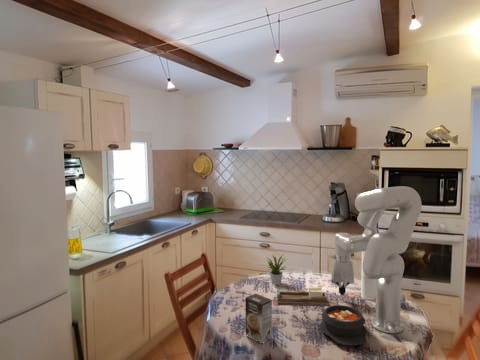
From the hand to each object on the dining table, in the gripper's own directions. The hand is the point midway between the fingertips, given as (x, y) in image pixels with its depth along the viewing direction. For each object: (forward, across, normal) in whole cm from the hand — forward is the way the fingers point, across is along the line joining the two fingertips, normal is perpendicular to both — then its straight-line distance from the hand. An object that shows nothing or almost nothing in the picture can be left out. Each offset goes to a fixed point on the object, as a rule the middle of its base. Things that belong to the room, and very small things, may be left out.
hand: (342, 294), depth 172 cm
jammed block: (+2, -13, 0) cm, 13 cm away
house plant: (+4, -31, +21) cm, 37 cm away
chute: (+3, -20, 0) cm, 20 cm away
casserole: (+3, -6, -30) cm, 31 cm away
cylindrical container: (+3, +14, +5) cm, 15 cm away
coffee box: (+3, -40, -36) cm, 54 cm away
